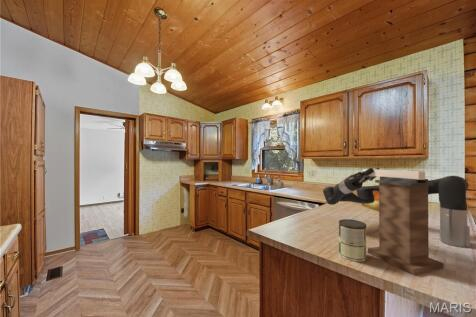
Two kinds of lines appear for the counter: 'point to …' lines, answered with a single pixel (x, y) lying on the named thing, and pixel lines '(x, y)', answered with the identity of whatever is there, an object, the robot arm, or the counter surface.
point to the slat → (398, 174)
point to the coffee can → (352, 240)
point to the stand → (404, 225)
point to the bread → (376, 203)
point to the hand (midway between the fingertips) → (375, 169)
